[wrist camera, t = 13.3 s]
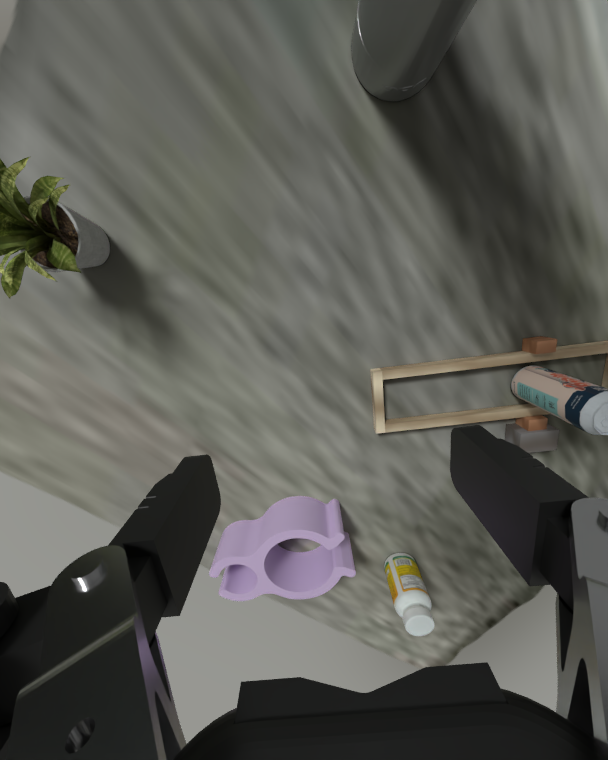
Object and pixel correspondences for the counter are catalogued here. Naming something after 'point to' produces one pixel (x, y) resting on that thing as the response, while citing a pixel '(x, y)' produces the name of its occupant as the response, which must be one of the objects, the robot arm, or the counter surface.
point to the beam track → (524, 433)
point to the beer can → (564, 397)
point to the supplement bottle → (409, 593)
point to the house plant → (43, 231)
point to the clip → (284, 552)
